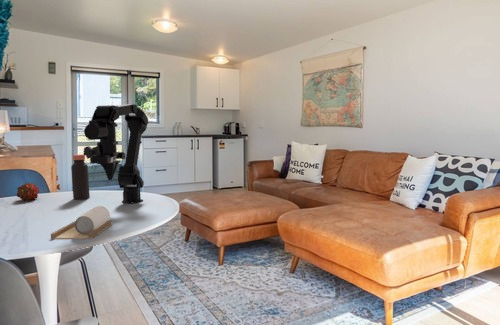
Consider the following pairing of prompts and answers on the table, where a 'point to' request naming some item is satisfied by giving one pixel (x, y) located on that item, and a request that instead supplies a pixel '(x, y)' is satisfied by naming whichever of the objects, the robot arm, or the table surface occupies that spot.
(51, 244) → the table surface
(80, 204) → the table surface
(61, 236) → the wooden tray
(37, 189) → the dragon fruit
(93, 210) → the can
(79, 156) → the bottle
